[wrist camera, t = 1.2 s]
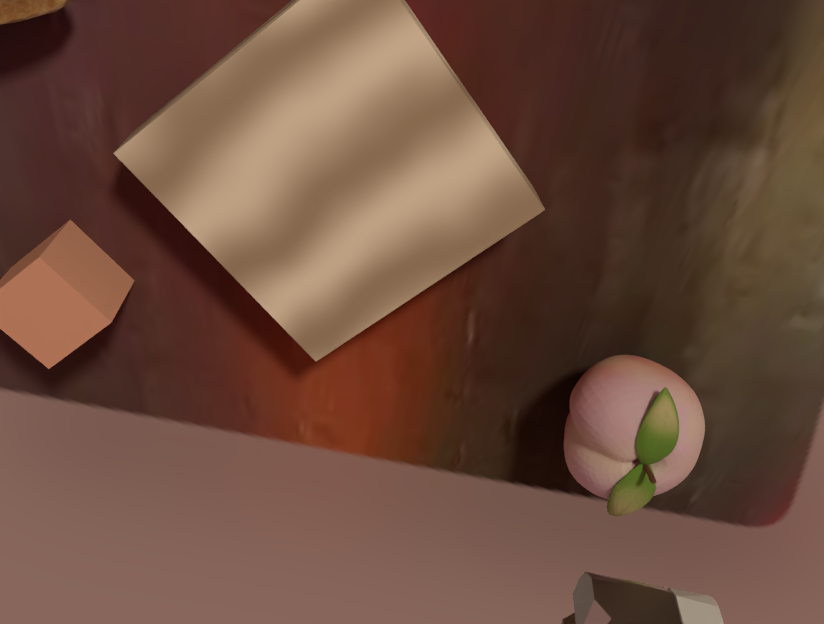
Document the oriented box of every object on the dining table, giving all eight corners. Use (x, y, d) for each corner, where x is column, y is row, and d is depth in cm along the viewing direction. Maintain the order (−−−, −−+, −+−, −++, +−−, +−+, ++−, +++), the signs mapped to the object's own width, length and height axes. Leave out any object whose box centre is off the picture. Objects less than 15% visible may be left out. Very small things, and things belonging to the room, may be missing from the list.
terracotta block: (12, 266, 46) (-25, 308, 42) (70, 219, 45) (39, 257, 41) (77, 323, 48) (48, 368, 44) (135, 280, 47) (111, 322, 43)
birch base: (134, 130, 43) (113, 153, 39) (363, -60, 39) (363, -53, 35) (319, 327, 50) (315, 361, 46) (531, 183, 46) (544, 209, 42)
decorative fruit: (656, 435, 55) (710, 542, 46) (542, 435, 54) (575, 543, 46) (685, 321, 50) (752, 415, 42) (560, 319, 50) (601, 415, 41)
